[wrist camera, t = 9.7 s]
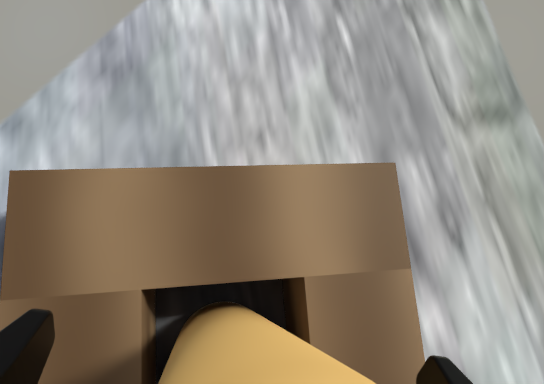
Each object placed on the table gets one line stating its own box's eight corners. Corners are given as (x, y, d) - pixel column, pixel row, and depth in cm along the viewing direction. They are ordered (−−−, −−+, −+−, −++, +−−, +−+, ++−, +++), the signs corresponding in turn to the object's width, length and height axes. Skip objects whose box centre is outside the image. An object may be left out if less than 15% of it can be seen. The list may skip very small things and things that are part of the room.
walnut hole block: (35, 579, 14) (-30, 696, 10) (53, 196, 17) (9, 170, 13) (396, 505, 16) (457, 574, 12) (356, 186, 19) (395, 162, 15)
